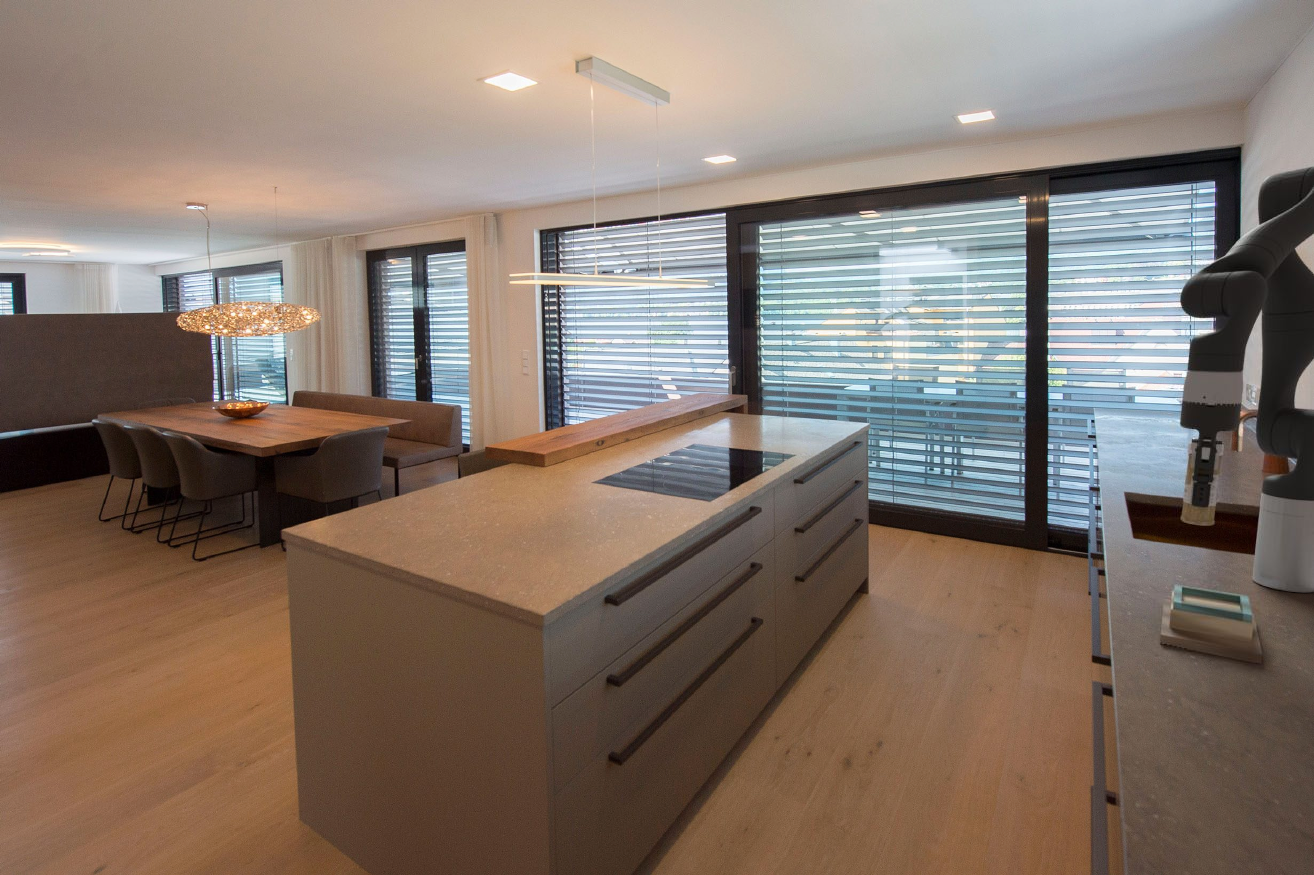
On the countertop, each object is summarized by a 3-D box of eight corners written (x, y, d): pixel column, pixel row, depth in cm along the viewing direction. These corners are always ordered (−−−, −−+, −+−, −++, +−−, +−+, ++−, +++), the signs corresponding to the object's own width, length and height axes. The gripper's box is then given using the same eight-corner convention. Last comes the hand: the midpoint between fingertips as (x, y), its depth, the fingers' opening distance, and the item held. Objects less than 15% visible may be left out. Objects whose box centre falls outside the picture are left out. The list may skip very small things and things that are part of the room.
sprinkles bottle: (1182, 517, 119) (1191, 439, 117) (1216, 522, 116) (1226, 442, 114) (1177, 523, 116) (1186, 442, 114) (1212, 528, 113) (1222, 445, 111)
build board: (1163, 606, 124) (1166, 575, 123) (1252, 622, 116) (1256, 589, 116) (1159, 643, 109) (1163, 608, 109) (1261, 664, 102) (1265, 626, 101)
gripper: (1184, 395, 121) (1173, 493, 123) (1180, 401, 110) (1169, 508, 112) (1240, 397, 116) (1228, 499, 119) (1243, 404, 105) (1230, 515, 108)
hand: (1200, 503), depth 116 cm, fingers closed on sprinkles bottle, 4 cm apart
